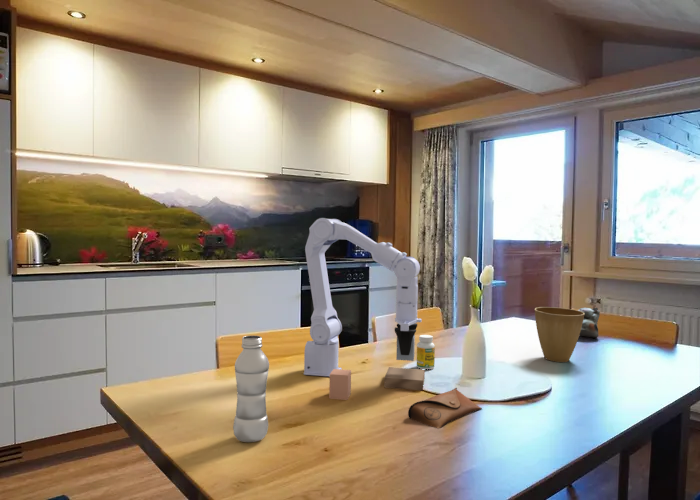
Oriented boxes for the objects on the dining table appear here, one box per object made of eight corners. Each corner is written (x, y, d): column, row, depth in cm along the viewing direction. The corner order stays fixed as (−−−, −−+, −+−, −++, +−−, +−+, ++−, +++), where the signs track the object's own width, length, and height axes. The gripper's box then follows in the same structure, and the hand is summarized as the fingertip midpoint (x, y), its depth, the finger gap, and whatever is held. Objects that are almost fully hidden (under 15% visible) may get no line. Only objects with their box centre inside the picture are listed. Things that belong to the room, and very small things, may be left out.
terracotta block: (329, 398, 118) (329, 374, 117) (333, 392, 122) (333, 368, 122) (347, 400, 117) (347, 375, 116) (350, 393, 121) (351, 370, 121)
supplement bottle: (425, 364, 149) (426, 333, 148) (438, 368, 144) (439, 336, 144) (412, 366, 146) (413, 335, 146) (424, 371, 141) (425, 338, 141)
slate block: (396, 359, 128) (396, 337, 128) (397, 355, 133) (398, 333, 132) (413, 360, 127) (413, 338, 127) (414, 356, 132) (414, 334, 132)
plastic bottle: (235, 432, 97) (236, 333, 96) (269, 432, 97) (270, 333, 97) (230, 447, 90) (231, 341, 90) (267, 446, 91) (268, 341, 90)
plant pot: (532, 362, 153) (534, 312, 153) (533, 351, 167) (535, 305, 166) (584, 368, 148) (586, 316, 147) (581, 356, 161) (582, 309, 161)
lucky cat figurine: (553, 333, 197) (560, 302, 201) (578, 344, 199) (583, 313, 203) (580, 330, 183) (586, 296, 187) (606, 342, 185) (611, 308, 189)
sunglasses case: (439, 429, 100) (426, 398, 102) (415, 437, 104) (404, 407, 106) (484, 408, 113) (472, 380, 115) (461, 415, 117) (450, 389, 119)
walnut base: (384, 388, 126) (384, 377, 126) (388, 377, 136) (388, 367, 136) (422, 392, 125) (423, 380, 124) (424, 380, 134) (424, 369, 134)
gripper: (420, 307, 122) (419, 360, 122) (422, 299, 136) (421, 346, 136) (392, 305, 123) (391, 358, 123) (397, 298, 137) (396, 345, 138)
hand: (405, 352), depth 130 cm, fingers closed on slate block, 4 cm apart
